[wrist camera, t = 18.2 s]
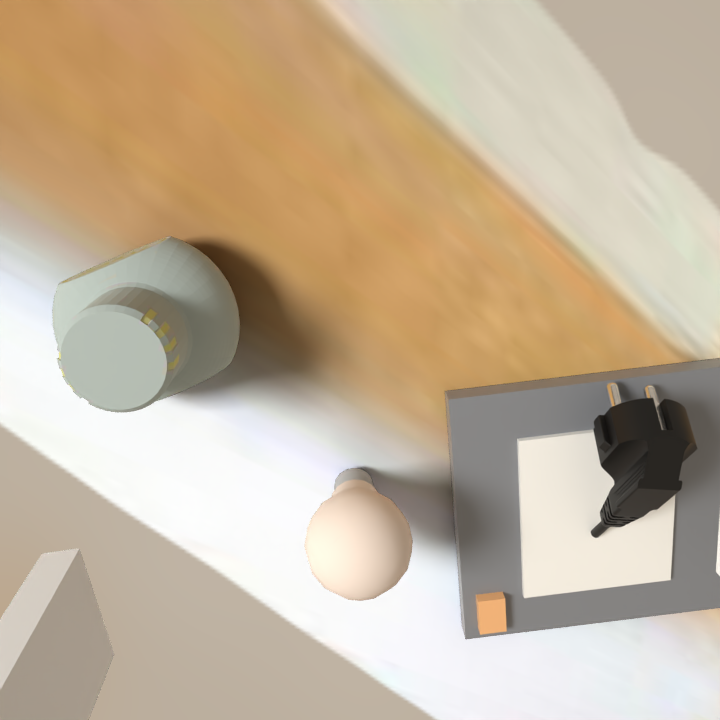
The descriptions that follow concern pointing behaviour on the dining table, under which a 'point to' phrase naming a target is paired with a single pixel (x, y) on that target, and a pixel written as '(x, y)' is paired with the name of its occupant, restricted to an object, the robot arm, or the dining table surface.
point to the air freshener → (144, 325)
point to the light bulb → (358, 539)
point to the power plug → (640, 454)
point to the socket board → (576, 505)
